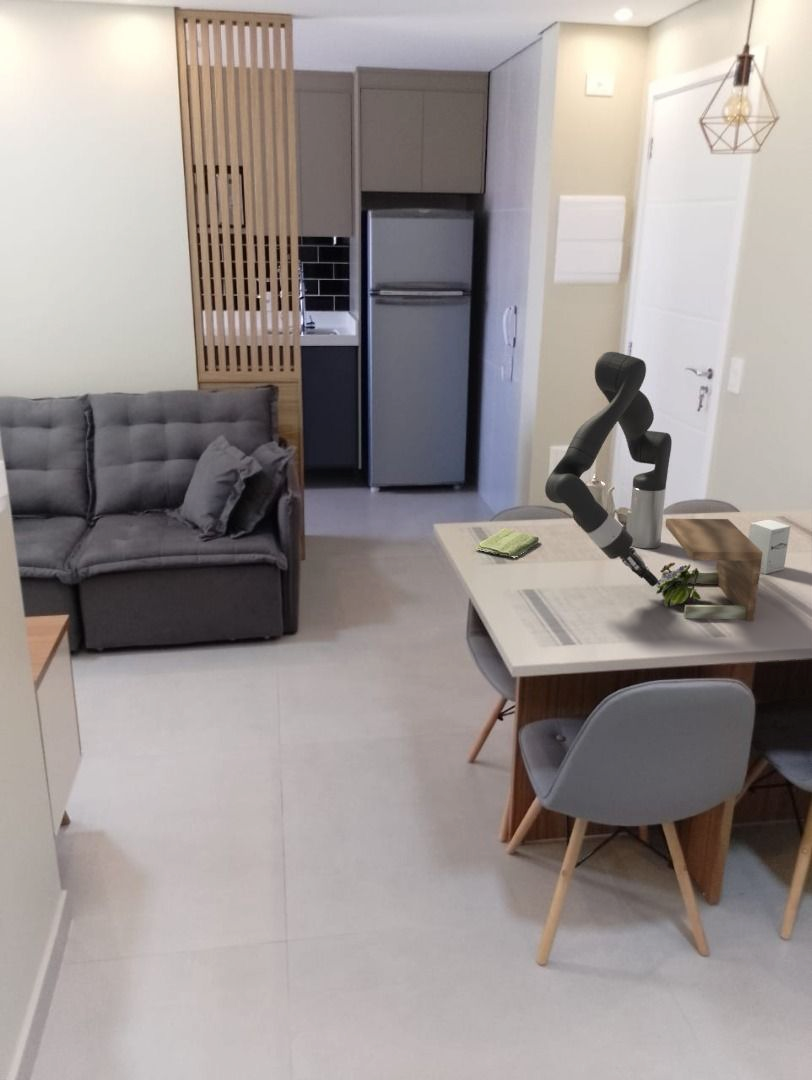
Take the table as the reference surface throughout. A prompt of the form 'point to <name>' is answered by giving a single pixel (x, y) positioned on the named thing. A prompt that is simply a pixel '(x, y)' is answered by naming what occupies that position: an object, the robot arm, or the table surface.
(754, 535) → the supplement box
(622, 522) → the chinaware
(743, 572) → the shelf
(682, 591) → the passion flower
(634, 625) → the table surface
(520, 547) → the washcloth
